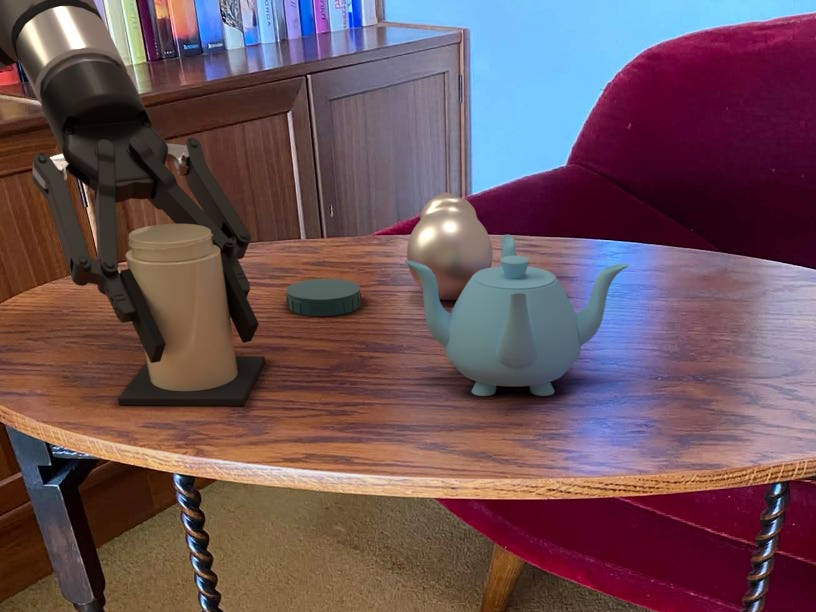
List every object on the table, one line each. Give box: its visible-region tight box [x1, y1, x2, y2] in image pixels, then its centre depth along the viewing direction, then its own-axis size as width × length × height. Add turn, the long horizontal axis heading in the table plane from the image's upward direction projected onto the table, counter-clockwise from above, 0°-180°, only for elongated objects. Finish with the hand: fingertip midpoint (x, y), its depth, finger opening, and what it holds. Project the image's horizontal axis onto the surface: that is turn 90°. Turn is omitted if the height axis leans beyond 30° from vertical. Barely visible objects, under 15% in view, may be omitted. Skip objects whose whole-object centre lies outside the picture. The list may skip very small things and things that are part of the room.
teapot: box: [404, 234, 629, 397], centre depth 80 cm, size 13×13×10 cm
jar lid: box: [285, 278, 363, 317], centre depth 99 cm, size 8×8×2 cm
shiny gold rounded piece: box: [406, 192, 494, 301], centre depth 99 cm, size 9×10×10 cm
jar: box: [125, 223, 238, 392], centre depth 78 cm, size 7×7×11 cm
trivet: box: [117, 355, 266, 407], centre depth 81 cm, size 10×10×1 cm
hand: (205, 343), depth 77 cm, fingers closed on jar, 7 cm apart
